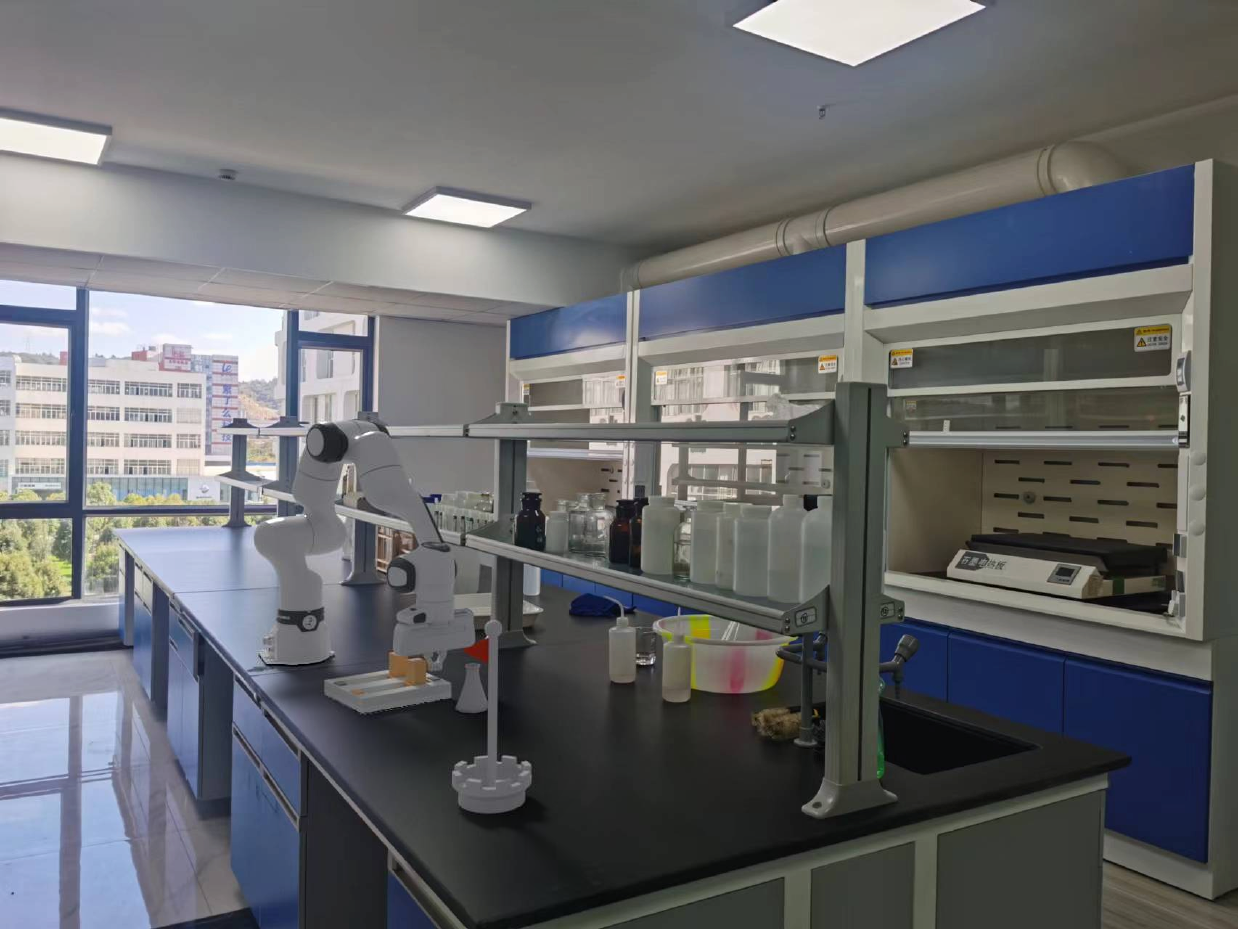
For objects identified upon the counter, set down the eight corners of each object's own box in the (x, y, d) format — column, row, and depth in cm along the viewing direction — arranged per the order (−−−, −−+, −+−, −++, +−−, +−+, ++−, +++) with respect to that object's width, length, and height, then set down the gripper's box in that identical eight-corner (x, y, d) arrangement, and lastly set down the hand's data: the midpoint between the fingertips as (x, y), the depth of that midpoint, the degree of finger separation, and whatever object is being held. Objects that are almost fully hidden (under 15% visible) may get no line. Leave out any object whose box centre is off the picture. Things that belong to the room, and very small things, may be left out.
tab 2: (404, 688, 215) (404, 659, 215) (420, 685, 217) (420, 657, 217) (412, 692, 212) (412, 663, 212) (428, 689, 214) (428, 660, 214)
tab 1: (387, 680, 222) (387, 652, 221) (402, 678, 224) (402, 650, 224) (394, 684, 219) (394, 655, 218) (409, 681, 221) (410, 653, 221)
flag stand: (533, 785, 160) (535, 613, 159) (528, 816, 147) (530, 628, 146) (457, 785, 160) (459, 612, 159) (446, 816, 147) (447, 627, 146)
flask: (470, 703, 210) (470, 659, 210) (495, 708, 207) (495, 663, 206) (449, 711, 204) (449, 666, 204) (475, 716, 200) (475, 670, 200)
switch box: (324, 695, 215) (324, 678, 215) (410, 680, 229) (410, 665, 229) (361, 714, 200) (361, 697, 200) (451, 697, 214) (451, 681, 214)
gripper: (466, 605, 226) (466, 661, 227) (389, 614, 213) (389, 673, 213) (480, 608, 222) (479, 666, 222) (402, 618, 208) (402, 679, 209)
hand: (434, 670), depth 218 cm, fingers closed
